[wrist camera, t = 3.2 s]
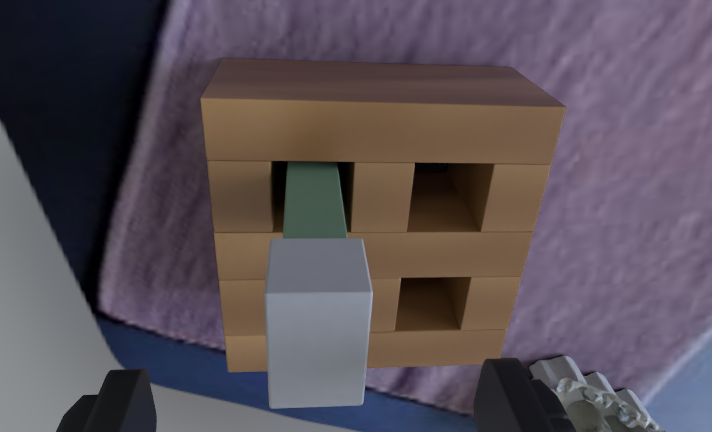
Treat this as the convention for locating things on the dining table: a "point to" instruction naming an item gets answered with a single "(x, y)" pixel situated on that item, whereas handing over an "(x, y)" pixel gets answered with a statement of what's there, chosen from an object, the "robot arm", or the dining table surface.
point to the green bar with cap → (316, 297)
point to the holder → (384, 193)
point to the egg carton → (593, 399)
